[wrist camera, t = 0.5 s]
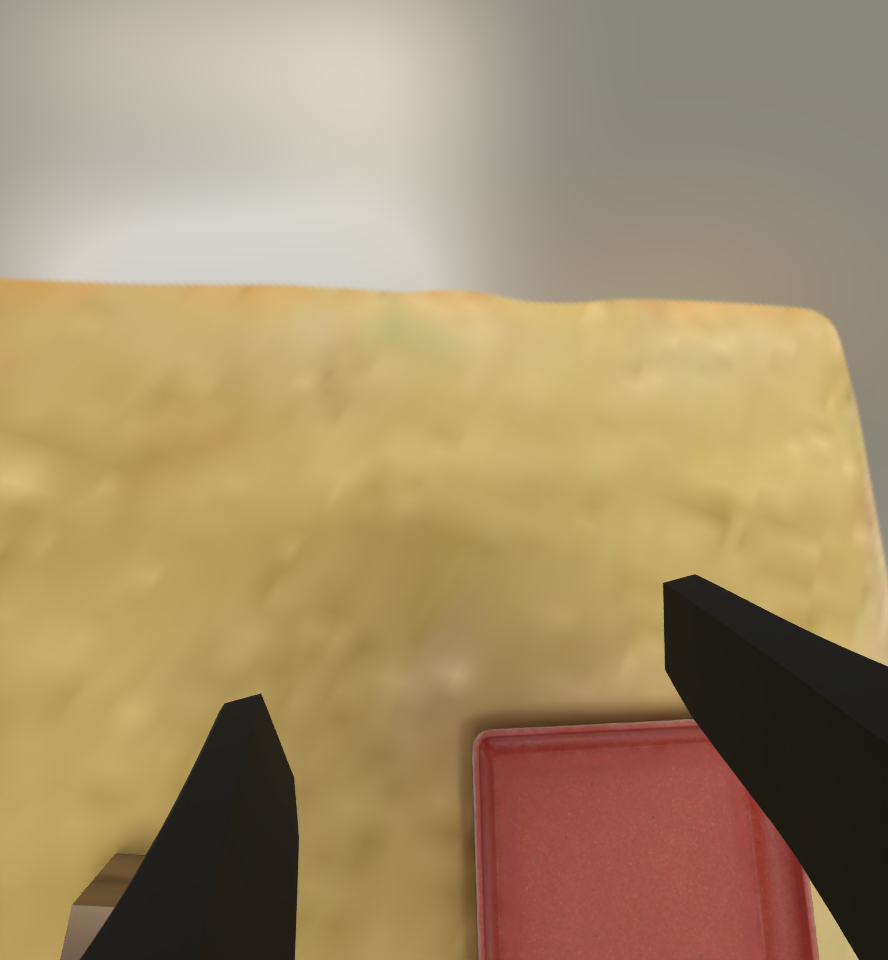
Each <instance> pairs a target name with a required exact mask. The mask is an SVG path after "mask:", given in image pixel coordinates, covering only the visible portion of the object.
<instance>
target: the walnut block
mask: <svg viewBox="0 0 888 960" xmlns="http://www.w3.org/2000/svg"><path fill="white" fill-rule="evenodd" d="M144 858H145V856H143V855H126V854H115V855H114V856H113V857H112V859H111V860H110V861H109V862H108V863H107V864H106V866H105V867H104V868H103V869H102V870H101V872H100V873H99V874H98V875H97V876H96V877H95V879H94V880H93V881H92V882H91V883H90V885H89V886H88V887H87V888H86V889H85V890H84V892H83V893H82V894H81V895H80V896H79V898H78V899H77V900H76V901H75V902H74V903H73V905H72V908H71V913H70V917H69V922H68V927H67V931H66V936H65V941H64V945H63V950H62V955H61V959H60V960H80V958H81V957H82V955H83V954H84V952H85V951H86V949H87V948H88V947H89V945H90V944H91V942H92V941H93V939H94V938H95V936H96V935H97V933H98V932H99V930H100V929H101V927H102V926H103V924H104V923H105V921H106V920H107V918H108V917H109V915H110V914H111V912H112V910H113V909H114V907H115V906H116V904H117V903H118V901H119V899H120V898H121V896H122V895H123V893H124V891H125V890H126V888H127V887H128V885H129V883H130V882H131V880H132V878H133V877H134V875H135V873H136V871H137V870H138V868H139V866H140V864H141V863H142V861H143V859H144Z"/></svg>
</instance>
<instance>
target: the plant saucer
mask: <svg viewBox="0 0 888 960" xmlns="http://www.w3.org/2000/svg"><path fill="white" fill-rule="evenodd" d="M472 768H473V801H474V835H475V871H476V902H477V939H478V960H819V952H818V944H817V937H816V926H815V920H814V910H813V902H812V895H811V887H810V880H809V877H808V875H807V874H806V872H805V871H804V869H803V867H802V866H801V864H800V863H799V861H798V859H797V858H796V856H795V855H794V853H793V852H792V850H791V849H790V848H789V846H788V845H787V843H786V842H785V840H784V839H783V838H782V836H781V835H780V833H779V832H778V831H777V829H776V828H775V826H774V825H773V824H772V823H771V821H770V820H769V819H768V817H767V816H766V815H765V813H764V812H763V811H762V809H761V808H760V807H759V805H758V804H757V803H756V801H755V800H754V799H753V798H752V796H751V795H750V794H749V792H748V791H747V790H746V788H745V787H744V786H743V784H742V783H741V782H740V780H739V779H738V778H737V776H736V775H735V774H734V773H733V771H732V770H731V769H730V767H729V766H728V765H727V763H726V762H725V761H724V759H723V758H722V757H721V755H720V754H719V753H718V751H717V750H716V749H715V747H714V746H713V745H712V743H711V742H710V741H709V739H708V738H707V737H706V735H705V734H704V733H703V731H702V730H701V729H700V727H699V726H698V724H697V723H696V722H695V720H694V719H681V720H665V721H644V722H620V723H604V724H584V725H571V726H563V725H562V726H549V727H528V728H508V729H490V730H485V731H482V732H481V733H479V734H478V735H477V736H476V737H475V739H474V741H473V744H472Z"/></svg>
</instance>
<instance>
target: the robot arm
mask: <svg viewBox="0 0 888 960" xmlns="http://www.w3.org/2000/svg"><path fill="white" fill-rule="evenodd" d="M663 595H664V643H665V670H666V672H667V674H668V676H669V678H670V679H671V681H672V683H673V685H674V686H675V688H676V690H677V692H678V694H679V695H680V697H681V699H682V701H683V702H684V704H685V706H686V707H687V709H688V711H689V712H690V714H691V716H692V717H693V719H694V720H695V722H696V723H697V724H698V726H699V727H700V729H701V730H702V731H703V733H704V734H705V735H706V737H707V738H708V739H709V741H710V742H711V743H712V745H713V746H714V747H715V749H716V750H717V751H718V753H719V754H720V755H721V757H722V758H723V759H724V761H725V762H726V763H727V765H728V766H729V767H730V769H731V770H732V771H733V773H734V774H735V775H736V776H737V778H738V779H739V780H740V782H741V783H742V784H743V786H744V787H745V788H746V790H747V791H748V792H749V794H750V795H751V796H752V798H753V799H754V800H755V801H756V803H757V804H758V805H759V807H760V808H761V809H762V811H763V812H764V813H765V815H766V816H767V817H768V819H769V820H770V821H771V823H772V824H773V825H774V826H775V828H776V829H777V831H778V832H779V833H780V835H781V836H782V838H783V839H784V840H785V842H786V843H787V845H788V846H789V848H790V849H791V850H792V852H793V853H794V855H795V856H796V858H797V859H798V861H799V863H800V864H801V866H802V867H803V869H804V871H805V872H806V874H807V875H808V877H809V879H810V880H811V882H812V883H813V885H814V887H815V888H816V890H817V891H818V893H819V895H820V896H821V898H822V899H823V901H824V903H825V904H826V906H827V907H828V909H829V911H830V912H831V914H832V915H833V917H834V919H835V920H836V922H837V924H838V925H839V927H840V929H841V930H842V932H843V934H844V935H845V937H846V939H847V940H848V942H849V944H850V946H851V947H852V949H853V951H854V952H855V954H856V956H857V957H858V959H859V960H888V666H886V665H883V664H881V663H878V662H876V661H874V660H871V659H869V658H867V657H864V656H862V655H860V654H857V653H855V652H853V651H851V650H848V649H846V648H844V647H841V646H839V645H837V644H835V643H833V642H830V641H828V640H826V639H824V638H822V637H820V636H817V635H815V634H813V633H811V632H809V631H807V630H805V629H803V628H801V627H799V626H797V625H795V624H793V623H791V622H789V621H786V620H784V619H782V618H780V617H778V616H777V615H775V614H773V613H771V612H769V611H767V610H765V609H763V608H761V607H759V606H757V605H755V604H753V603H751V602H749V601H747V600H745V599H743V598H741V597H739V596H737V595H735V594H734V593H732V592H730V591H728V590H726V589H724V588H722V587H720V586H718V585H716V584H714V583H712V582H710V581H708V580H706V579H704V578H702V577H700V576H697V575H695V574H694V575H691V576H687V577H683V578H680V579H676V580H672V581H669V582H665V583H663ZM298 849H299V835H298V820H297V807H296V796H295V784H294V776H293V774H292V771H291V769H290V766H289V764H288V761H287V758H286V756H285V753H284V751H283V748H282V746H281V743H280V741H279V738H278V735H277V733H276V730H275V728H274V725H273V723H272V720H271V718H270V715H269V712H268V710H267V707H266V705H265V702H264V700H263V697H262V695H261V694H258V695H254V696H250V697H247V698H243V699H239V700H236V701H232V702H229V703H225V704H224V705H223V707H222V708H221V710H220V711H219V714H218V716H217V718H216V720H215V722H214V724H213V727H212V729H211V731H210V733H209V735H208V737H207V739H206V742H205V744H204V746H203V748H202V750H201V752H200V754H199V756H198V758H197V760H196V762H195V764H194V766H193V768H192V770H191V773H190V775H189V777H188V779H187V781H186V782H185V784H184V786H183V788H182V790H181V792H180V794H179V796H178V798H177V800H176V802H175V804H174V805H173V807H172V809H171V811H170V813H169V815H168V817H167V819H166V821H165V823H164V824H163V826H162V828H161V830H160V832H159V834H158V835H157V837H156V839H155V840H154V842H153V844H152V846H151V847H150V849H149V851H148V852H147V854H146V856H145V858H144V859H143V861H142V863H141V864H140V866H139V868H138V870H137V871H136V873H135V875H134V877H133V878H132V880H131V882H130V883H129V885H128V887H127V888H126V890H125V891H124V893H123V895H122V896H121V898H120V899H119V901H118V903H117V904H116V906H115V907H114V909H113V910H112V912H111V914H110V915H109V917H108V918H107V920H106V921H105V923H104V924H103V926H102V927H101V929H100V930H99V932H98V933H97V935H96V936H95V938H94V939H93V941H92V942H91V944H90V945H89V947H88V948H87V949H86V951H85V952H84V954H83V955H82V957H81V958H80V960H295V938H296V911H297V882H298Z"/></svg>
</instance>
